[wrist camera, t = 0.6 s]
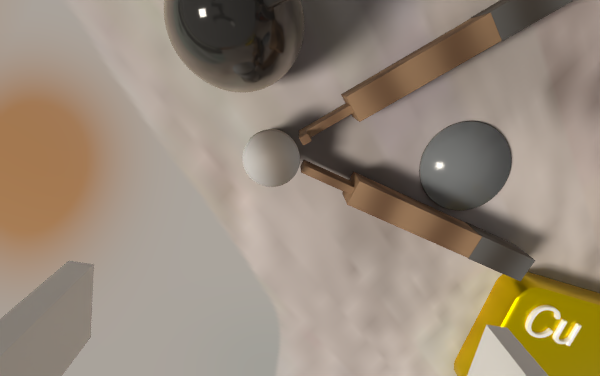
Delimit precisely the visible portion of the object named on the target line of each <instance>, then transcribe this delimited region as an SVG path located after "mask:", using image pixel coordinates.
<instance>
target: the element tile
mask: <svg viewBox="0 0 600 376" xmlns="http://www.w3.org/2000/svg"><path fill="white" fill-rule="evenodd" d="M486 325H493V326H499V327H506V328H508V329H509V330H510V331H511V333H512V334H513V335H514V336H515V337H516V338H517V340H518V341H519V342H520V343H521V344H522V345H523V347H524V348H525V349H526V350H527V351H528V352H529V354H530V355H531V356H532V357H533V358H534V359H535V361H536V362H537V363H538V364H539V365H540V366H541V368H542V369H543V370H544V371H545V372H546V373H547V375H548V376H600V293H597V292H593V291H590V290H587V289H583V288H580V287H576V286H573V285H570V284H566V283H563V282H560V281H556V280H553V279H550V278H546V277H543V276H540V275H536V274H533V273H530V272H527V273H526V274H525V276H524V277H523V279H522V280H521V281H518V280H516V279H514V278H511V277H509V276H507V275H505V274H503V275H501V276H500V277H499V278H498V279H497V281H496V283H495V284H494V286H493V288H492V290H491V292H490V294H489V296H488V298H487V300H486V302H485V304H484V306H483V308H482V309H481V311H480V313H479V315H478V317H477V319H476V321H475V323H474V325H473V327H472V329H471V331H470V333H469V334H468V336H467V338H466V340H465V342H464V344H463V346H462V348H461V350H460V352H459V354H458V356H457V358H456V359H455V363H454V370H455V372H456V374H457V376H467V375H468V372H469V369H470V367H471V364H472V361H473V359H474V356H475V353H476V351H477V348H478V345H479V343H480V340H481V337H482V335H483V332H484V330H485V327H486Z"/></svg>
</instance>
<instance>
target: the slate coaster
mask: <svg viewBox="0 0 600 376" xmlns="http://www.w3.org/2000/svg"><path fill="white" fill-rule="evenodd" d="M510 167H511V153H510V149H509V146H508V144H507V141H506V140H505V138H504V137H503V136H502V134H501V133H500V132H499V131H497V130H496V129H495V128H493V127H491V126H489V125H487V124H484V123H480V122H474V121H466V122H460V123H456V124H453V125H451V126H448V127H447V128H445V129H443V130H442V131H440V132H439V133H438V134H437V135H436V136H435V137H434V138H433V139H432V140H431V141H430V142H429V144H428V145H427V147H426V148H425V150H424V152H423V155H422V158H421V162H420V170H419V172H420V180H421V183H422V186H423V188H424V190H425V192H426V193H427V195H428V196H429V197H430V198H431V199H432V200H433V201H434V202H436V203H437V204H439V205H440V206H442V207H445V208H447V209H452V210H468V209H473V208H476V207H478V206H481V205H483V204H485V203H486V202H488V201H489V200H491V199H492V198H493V197H494V196H495V195H496V194H497V193H498V192H499V191H500V190H501V188H502V187H503V186H504V184H505V182H506V180H507V178H508V175H509V172H510Z"/></svg>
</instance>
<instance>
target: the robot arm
mask: <svg viewBox="0 0 600 376" xmlns="http://www.w3.org/2000/svg"><path fill="white" fill-rule="evenodd" d="M93 271H94V265H93V264H87V263H81V262H74V261H68V262H67V263H66V264H64V265H63V266H62V267H61V268H60V269H59V270H57V271H56V272H55V273H54V274H53V275H51V276H50V277H49V278H48V279H47V280H46V281H45V282H43V283H42V284H41V285H40V286H39V287H37V288H36V289H35V290H34V291H33V292H32V293H30V294H29V295H28V296H27V297H26V298H25V299H23V300H22V301H21V302H20V303H19V304H17V305H16V306H15V307H14V308H13V309H11V310H10V311H9V312H8V313H7V314H6V315H4V316H3V317H2V318H1V319H0V376H62V375H63V373H64V372H65V371H66V369H67V368H68V367H69V365H70V364H71V363H72V361H73V360H74V359H75V357H76V356H77V355H78V354H79V352H80V351H81V349H82V348H83V347H84V346H85V344H86V343H87V341H88V340H89V339H90V337H91V315H92V291H93ZM467 376H548V375H547V373H546V372H545V371H544V370H543V369H542V368H541V366H540V365H539V364H538V363H537V362H536V361H535V359H534V358H533V357H532V356H531V355H530V354H529V352H528V351H527V350H526V349H525V348H524V347H523V345H522V344H521V343H520V342H519V341H518V340H517V338H516V337H515V336H514V335H513V334H512V333H511V331H510V330H509V329H508V328H506V327H499V326H493V325H486V327H485V330H484V332H483V335H482V337H481V340H480V343H479V345H478V348H477V351H476V353H475V356H474V359H473V361H472V364H471V367H470V369H469V372H468V375H467Z"/></svg>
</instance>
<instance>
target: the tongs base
mask: <svg viewBox="0 0 600 376" xmlns="http://www.w3.org/2000/svg"><path fill="white" fill-rule="evenodd" d="M269 130H270V129H269ZM272 130H277V129H272ZM279 131H281V130H279ZM282 132H283V131H282ZM301 173H304V174H306V175H308V176H310V177H313V178H315V179H317V180H319V181H322V182H324V183H326V184H328V185H331V186H333V187H335V188H337V189H340V190H342V191H343V196H344V198H345V200H346V202H347V205H350V206H352V207H354V208H356V209H359V210H361V211H363V212H366V213H368V214H370V215H372V216H375V217H377V218H379V219H381V220H384V221H386V222H388V223H390V224H393V225H395V226H397V227H400V228H402V229H404V230H406V231H409V232H411V233H413V234H415V235H418V236H420V237H422V238H424V239H427V240H429V241H431V242H434V243H436V244H438V245H440V246H443V247H445V248H447V249H449V250H452V251H454V252H456V253H458V254H461V255H463V256H465V257H467V258H468V259H471V260H473V261H475V262H477V263H480V264H482V265H484V266H486V267H489V268H491V269H493V270H495V271H498V272H500V273H502V274H505V275H507V276H509V277H511V278H514V279H516V280H518V281H521V280H522V279H523V277H524V276H525V274H526V273H527V271H528V270H529V269H530V267H531V266H532V264H533V263H534V261H535V260H534V259H533V258H531V257H530V256H529V255H528V254H526V253H525V252H524V251H522V250H521V249H520V248H518V247H517V246H516V245H514V244H512V243H510V242H508V241H506V240H504V239H501V238H499V237H497V236H495V235H493V234H491V233H488V232H486V231H484V230H482V229H480V228H477V227H475V226H473V225H471V224H469V223H465V222H463V221H461V220H458V219H456V218H454V217H452V216H450V215H447V214H445V213H443V212H441V211H439V210H436V209H434V208H432V207H430V206H428V205H426V204H423V203H421V202H419V201H417V200H415V199H412V198H410V197H408V196H406V195H404V194H401V193H399V192H397V191H395V190H393V189H390V188H388V187H386V186H384V185H382V184H379V183H377V182H375V181H373V180H371V179H369V178H366V177H364V176H362V175H360V174H358V173H355V172H353V173H352V175H351V177H350V179H349V180H348V179H345V178H343V177H341V176H339V175H337V174H334V173H332V172H330V171H328V170H326V169H323V168H321V167H319V166H317V165H314V164H312V163H310V162H308V161H306V160H303V162H302V164H301Z"/></svg>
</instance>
